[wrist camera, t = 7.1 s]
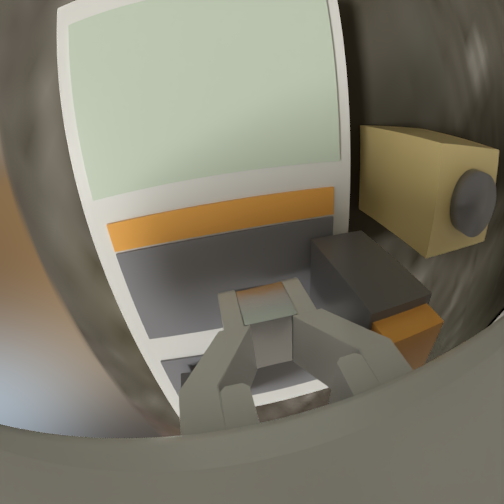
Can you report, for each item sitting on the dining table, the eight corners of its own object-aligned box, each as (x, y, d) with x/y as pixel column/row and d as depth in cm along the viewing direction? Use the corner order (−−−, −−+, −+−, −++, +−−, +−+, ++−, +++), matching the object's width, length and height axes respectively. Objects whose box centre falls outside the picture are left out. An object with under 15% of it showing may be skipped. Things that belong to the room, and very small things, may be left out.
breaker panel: (314, 358, 17) (328, 389, 15) (178, 385, 16) (179, 420, 14) (306, -4, 8) (334, -26, 5) (82, 25, 7) (55, 7, 4)
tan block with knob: (417, 200, 13) (493, 247, 8) (358, 208, 13) (436, 266, 8) (422, 128, 11) (510, 153, 7) (359, 125, 11) (455, 147, 6)
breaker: (353, 295, 11) (416, 381, 7) (309, 307, 11) (363, 405, 7) (361, 230, 10) (450, 311, 6) (310, 239, 9) (389, 337, 5)
